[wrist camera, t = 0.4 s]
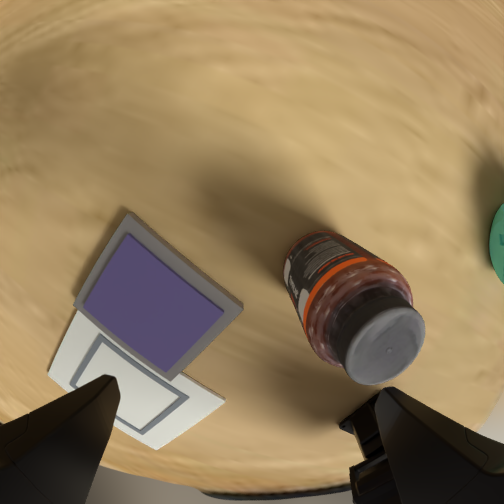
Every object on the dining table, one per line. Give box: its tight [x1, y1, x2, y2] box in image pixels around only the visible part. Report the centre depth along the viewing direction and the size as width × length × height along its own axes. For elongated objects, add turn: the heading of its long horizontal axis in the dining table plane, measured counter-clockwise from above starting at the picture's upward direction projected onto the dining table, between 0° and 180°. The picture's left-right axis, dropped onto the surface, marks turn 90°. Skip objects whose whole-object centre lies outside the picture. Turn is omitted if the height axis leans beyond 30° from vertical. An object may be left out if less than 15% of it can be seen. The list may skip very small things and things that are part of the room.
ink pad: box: [73, 212, 243, 382], centre depth 20 cm, size 11×10×1 cm
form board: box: [48, 310, 226, 450], centre depth 23 cm, size 16×14×1 cm
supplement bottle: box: [283, 231, 425, 385], centre depth 15 cm, size 6×6×11 cm
